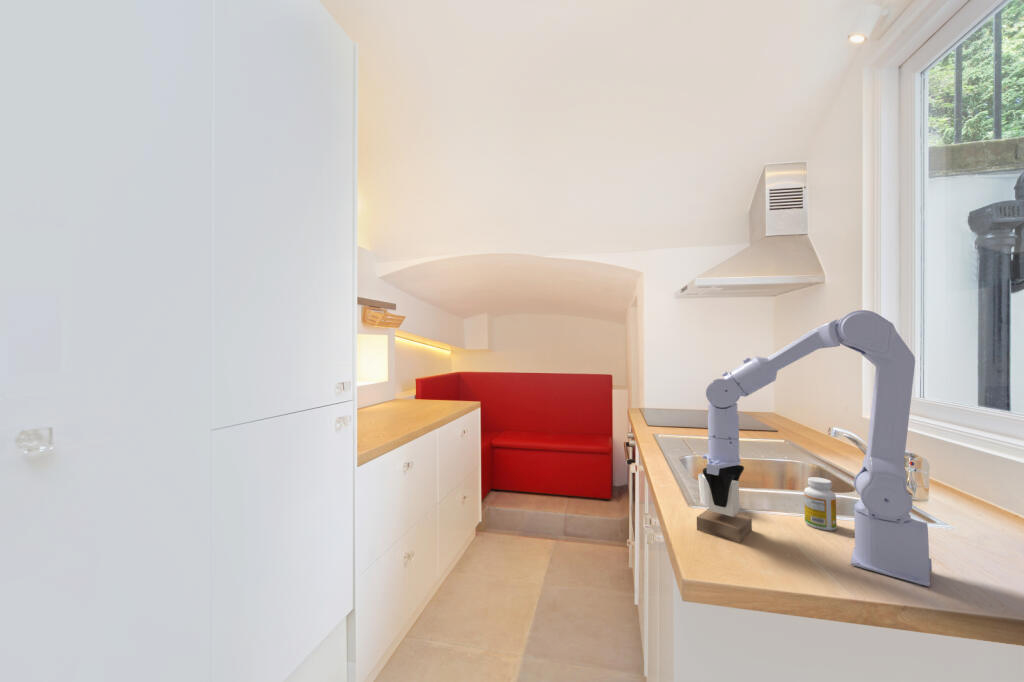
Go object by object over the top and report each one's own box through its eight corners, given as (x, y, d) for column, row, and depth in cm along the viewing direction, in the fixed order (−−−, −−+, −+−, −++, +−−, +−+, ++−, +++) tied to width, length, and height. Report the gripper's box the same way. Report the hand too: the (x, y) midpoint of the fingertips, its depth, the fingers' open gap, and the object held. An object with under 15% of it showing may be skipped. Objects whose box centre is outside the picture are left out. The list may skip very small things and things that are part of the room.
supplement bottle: (825, 521, 88) (824, 476, 88) (843, 531, 82) (842, 484, 83) (799, 520, 88) (798, 475, 89) (815, 530, 83) (814, 483, 83)
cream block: (739, 510, 83) (738, 481, 83) (732, 516, 80) (732, 486, 80) (715, 504, 86) (715, 476, 86) (708, 510, 83) (708, 481, 83)
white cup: (732, 513, 92) (732, 482, 92) (699, 508, 94) (699, 478, 95) (727, 502, 98) (727, 474, 99) (697, 499, 101) (696, 470, 101)
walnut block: (751, 532, 83) (751, 517, 83) (739, 545, 77) (739, 529, 77) (711, 520, 88) (710, 507, 89) (696, 531, 83) (696, 516, 83)
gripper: (714, 429, 91) (714, 489, 91) (690, 438, 81) (691, 506, 81) (749, 433, 87) (749, 497, 86) (728, 444, 76) (729, 516, 76)
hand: (724, 502), depth 83 cm, fingers closed on cream block, 4 cm apart
